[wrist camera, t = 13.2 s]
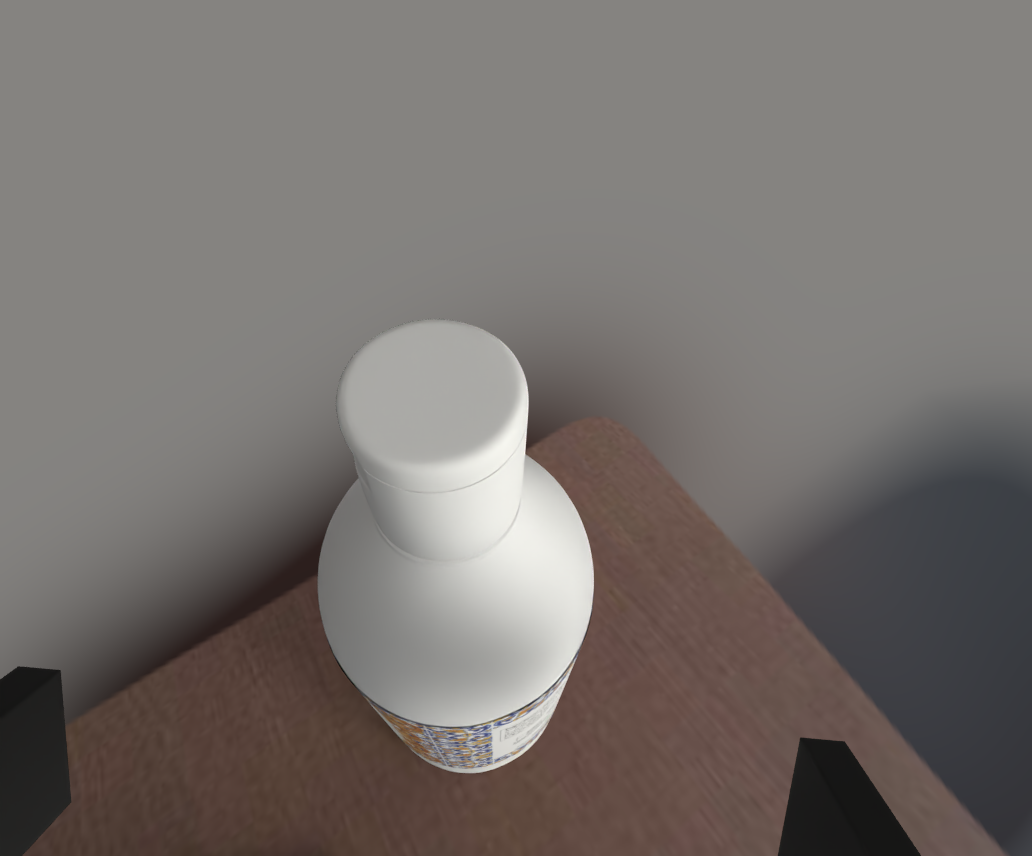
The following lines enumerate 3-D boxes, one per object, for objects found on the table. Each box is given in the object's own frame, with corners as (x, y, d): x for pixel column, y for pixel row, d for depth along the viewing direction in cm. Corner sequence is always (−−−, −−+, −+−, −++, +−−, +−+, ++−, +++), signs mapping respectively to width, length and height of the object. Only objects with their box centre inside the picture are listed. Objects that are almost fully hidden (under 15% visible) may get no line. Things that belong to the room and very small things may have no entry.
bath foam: (364, 635, 27) (154, 296, 11) (514, 571, 29) (539, 190, 12) (421, 809, 24) (246, 718, 7) (587, 725, 26) (759, 491, 9)
